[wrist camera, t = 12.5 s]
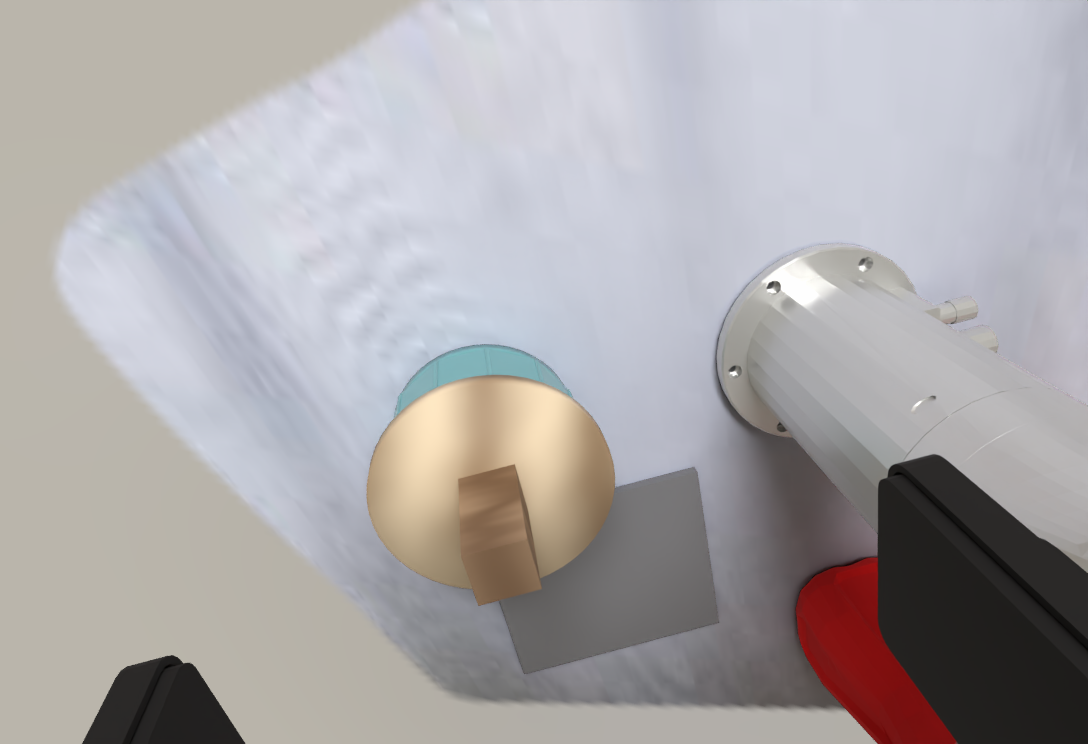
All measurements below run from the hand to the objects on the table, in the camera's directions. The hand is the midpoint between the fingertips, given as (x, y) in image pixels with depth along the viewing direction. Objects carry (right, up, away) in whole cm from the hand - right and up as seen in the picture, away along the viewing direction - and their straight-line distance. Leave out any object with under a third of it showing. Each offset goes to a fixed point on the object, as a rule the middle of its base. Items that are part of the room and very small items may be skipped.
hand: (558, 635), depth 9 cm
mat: (+4, -11, +40) cm, 41 cm away
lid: (-3, -2, +28) cm, 28 cm away
